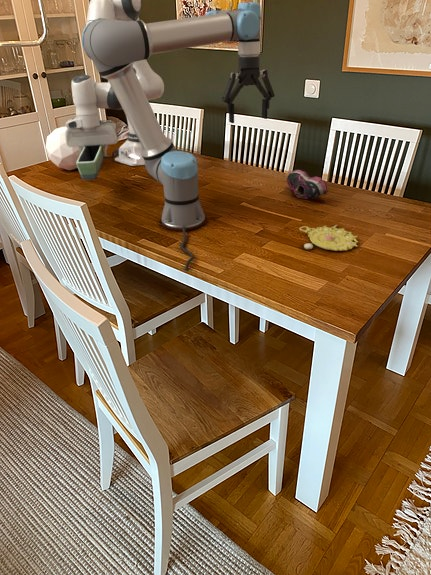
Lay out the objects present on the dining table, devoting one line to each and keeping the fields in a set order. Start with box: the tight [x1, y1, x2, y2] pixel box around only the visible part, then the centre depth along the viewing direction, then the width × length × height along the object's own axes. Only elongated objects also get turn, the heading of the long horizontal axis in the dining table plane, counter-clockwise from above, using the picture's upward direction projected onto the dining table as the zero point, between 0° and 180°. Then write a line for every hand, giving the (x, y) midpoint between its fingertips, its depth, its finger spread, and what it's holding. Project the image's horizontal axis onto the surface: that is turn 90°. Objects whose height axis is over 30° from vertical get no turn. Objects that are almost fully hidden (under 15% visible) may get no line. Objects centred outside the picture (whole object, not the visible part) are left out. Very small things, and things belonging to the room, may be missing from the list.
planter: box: [76, 145, 104, 181], centre depth 174 cm, size 28×7×7 cm, turn 7°
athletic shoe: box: [284, 169, 328, 201], centre depth 172 cm, size 11×22×12 cm
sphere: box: [44, 125, 84, 171], centre depth 207 cm, size 19×20×20 cm
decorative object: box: [299, 224, 359, 252], centre depth 141 cm, size 21×2×20 cm
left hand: (94, 156), depth 182 cm, fingers closed on planter, 6 cm apart
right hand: (248, 120), depth 163 cm, fingers open, 13 cm apart
